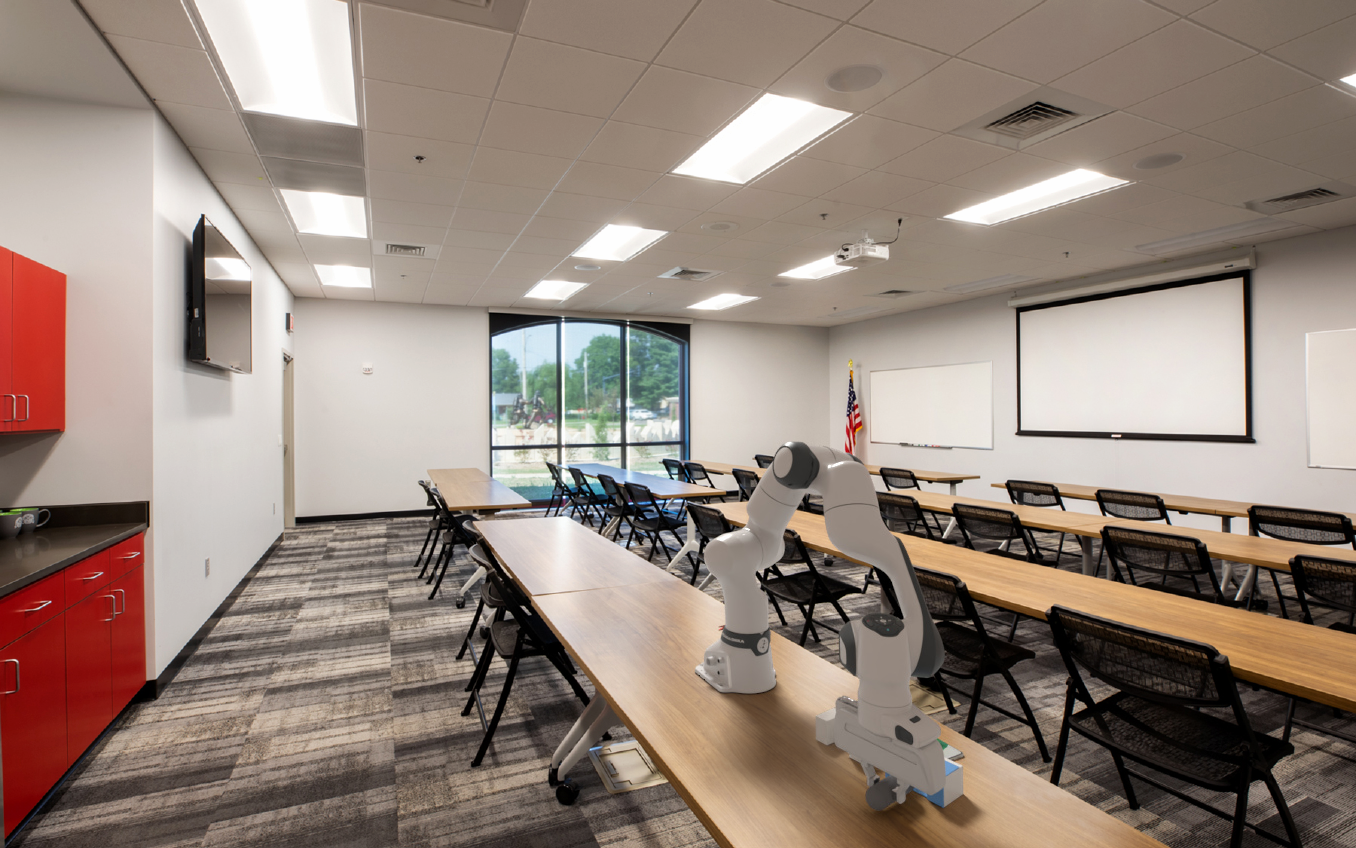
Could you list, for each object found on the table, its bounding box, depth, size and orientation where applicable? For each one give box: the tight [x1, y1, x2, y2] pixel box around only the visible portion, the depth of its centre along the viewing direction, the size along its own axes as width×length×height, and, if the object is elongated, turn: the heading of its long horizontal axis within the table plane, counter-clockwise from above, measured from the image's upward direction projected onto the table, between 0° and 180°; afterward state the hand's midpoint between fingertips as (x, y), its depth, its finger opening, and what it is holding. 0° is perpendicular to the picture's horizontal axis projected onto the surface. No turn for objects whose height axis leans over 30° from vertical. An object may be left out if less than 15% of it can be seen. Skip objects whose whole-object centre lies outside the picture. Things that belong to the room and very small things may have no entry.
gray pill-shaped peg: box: [865, 775, 914, 811], centre depth 106 cm, size 4×12×4 cm, turn 126°
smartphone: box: [937, 737, 965, 761], centre depth 126 cm, size 7×1×15 cm
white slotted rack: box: [815, 706, 964, 809], centre depth 118 cm, size 28×6×5 cm, turn 36°
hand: (885, 793), depth 105 cm, fingers closed on gray pill-shaped peg, 4 cm apart
